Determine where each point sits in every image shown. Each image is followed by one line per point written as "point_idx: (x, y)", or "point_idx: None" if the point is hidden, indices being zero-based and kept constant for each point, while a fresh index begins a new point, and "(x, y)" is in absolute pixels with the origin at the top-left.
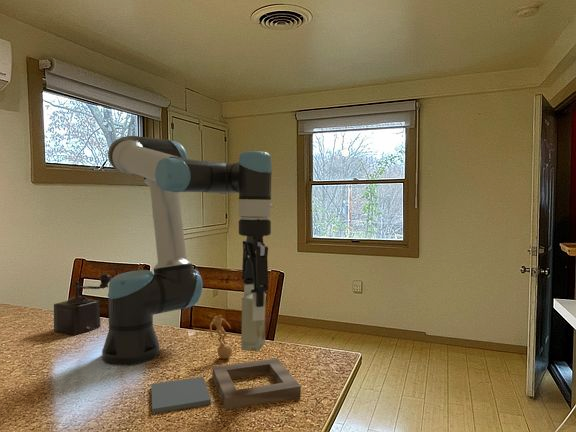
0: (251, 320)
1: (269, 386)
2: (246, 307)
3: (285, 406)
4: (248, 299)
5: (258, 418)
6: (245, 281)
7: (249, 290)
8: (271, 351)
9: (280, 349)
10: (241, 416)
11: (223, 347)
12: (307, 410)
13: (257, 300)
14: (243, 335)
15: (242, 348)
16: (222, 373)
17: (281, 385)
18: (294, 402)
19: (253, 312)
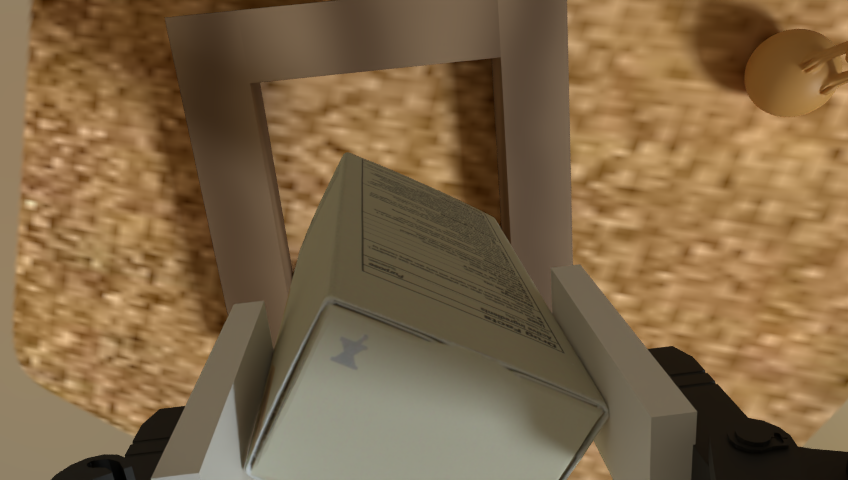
0: (297, 292)
1: (260, 244)
2: (307, 300)
3: (181, 277)
4: (292, 363)
5: (94, 153)
6: (709, 456)
7: (619, 425)
8: (760, 320)
9: (767, 366)
10: (118, 84)
11: (789, 65)
12: (138, 350)
13: (136, 456)
14: (334, 190)
15: (340, 161)
16: (460, 28)
17: (260, 297)
18: (210, 317)
19: (217, 343)
